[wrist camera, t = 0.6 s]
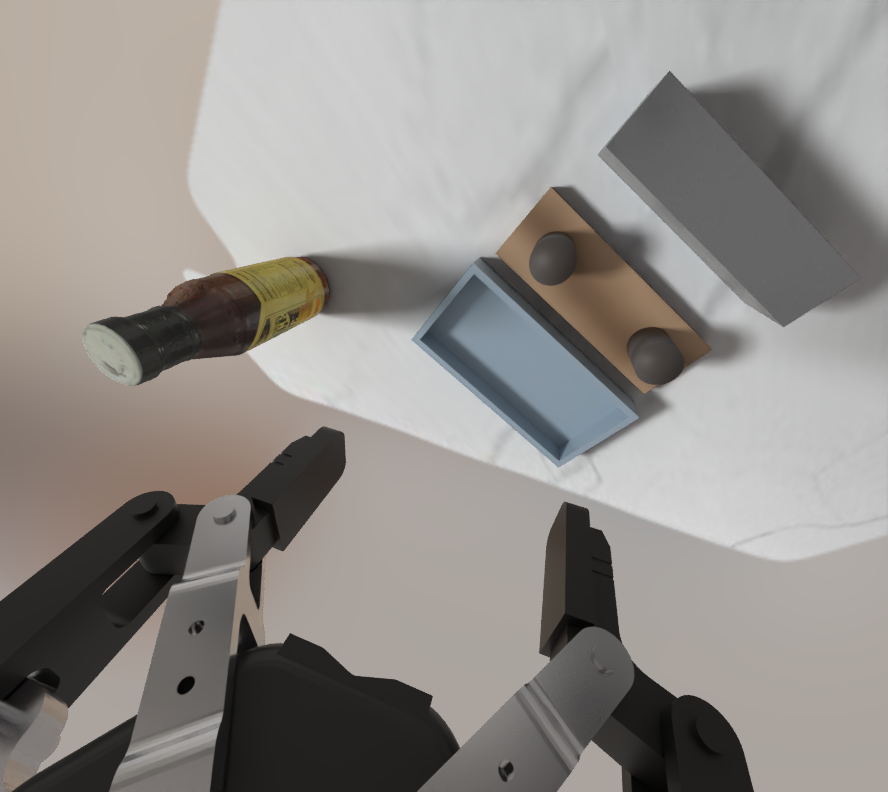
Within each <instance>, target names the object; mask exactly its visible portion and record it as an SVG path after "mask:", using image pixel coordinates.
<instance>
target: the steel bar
mask: <svg viewBox="0 0 888 792" xmlns="http://www.w3.org/2000/svg"><path fill="white" fill-rule="evenodd" d="M598 156H599V157H600V158H601V159H602V160H603V161H604V162H605V163H606V164H607V165H608V166H609V167H610V168H611V169H612V170H613V171H614V172H615V173H616V174H617V175H618V176H619V177H620V178H621V179H622V180H623V181H624V182H625V183H626V184H627V185H628V186H629V187H630V188H631V189H632V190H633V191H634V192H635V193H636V194H637V195H638V196H639V197H640V198H641V199H642V200H643V201H644V202H645V203H646V204H647V205H648V206H649V207H650V208H651V209H652V210H653V211H654V212H655V213H656V214H657V215H658V216H659V217H660V218H661V219H662V220H663V221H664V222H665V223H666V224H667V225H668V226H669V227H670V228H671V229H672V230H673V231H674V232H675V233H676V234H677V235H678V236H679V237H680V238H681V239H682V240H683V241H684V242H685V243H686V244H687V245H688V246H689V247H690V248H691V249H692V250H693V251H694V252H695V253H696V254H697V256H698V257H699V258H700V259H701V260H702V261H703V262H704V263H705V264H706V265H707V266H708V267H709V268H710V269H711V270H712V271H713V272H714V273H715V274H716V275H717V276H718V277H719V278H720V279H721V280H722V281H723V282H724V283H725V284H726V285H727V286H728V287H729V288H730V289H731V290H732V291H733V292H734V293H735V294H736V295H737V296H738V297H739V298H740V299H741V300H742V301H743V302H744V303H746V304H747V305H749V306H751V307H752V308H754V309H755V310H757V311H759V312H760V313H762V314H763V315H765V316H767V317H768V318H770V319H771V320H773V321H775V322H776V323H778V324H779V325H781V326H783V327H785V326H786V325H788V324H789V323H791V322H792V321H794V320H796V319H797V318H799V317H800V316H802V315H804V314H805V313H807V312H808V311H810V310H811V309H813V308H815V307H816V306H818V305H819V304H821V303H822V302H824V301H826V300H827V299H829V298H830V297H832V296H833V295H835V294H837V293H838V292H840V291H841V290H843V289H844V288H846V287H848V286H849V285H851V284H852V283H854V282H856V281H857V280H859V279H860V278H861V277H860V276H859V275H858V274H857V273H856V272H855V271H854V270H853V269H852V268H851V266H850V265H849V264H848V263H847V262H846V261H845V260H844V259H843V258H842V257H841V256H840V255H839V253H838V252H837V251H836V250H835V249H834V248H833V247H832V246H831V245H830V244H829V243H828V242H827V240H826V239H825V238H824V237H823V236H822V235H821V234H820V233H819V232H818V231H817V230H816V229H815V228H814V226H813V225H812V224H811V223H810V222H809V221H808V220H807V219H806V218H805V217H804V216H803V215H802V213H801V212H800V211H799V210H798V209H797V208H796V207H795V206H794V205H793V204H792V203H791V202H790V200H789V199H788V198H787V197H786V196H785V195H784V194H783V193H782V192H781V191H780V190H779V189H778V187H777V186H776V185H775V184H774V183H773V182H772V181H771V180H770V179H769V178H768V177H767V176H766V174H765V173H764V172H763V171H762V170H761V169H760V168H759V167H758V166H757V165H756V164H755V163H754V161H753V160H752V159H751V158H750V157H749V156H748V155H747V154H746V153H745V152H744V151H743V150H742V149H741V147H740V146H739V145H738V144H737V143H736V142H735V141H734V140H733V139H732V138H731V137H730V136H729V134H728V133H727V132H726V131H725V130H724V129H723V128H722V127H721V126H720V125H719V124H718V123H717V121H716V120H715V119H714V118H713V117H712V116H711V115H710V114H709V113H708V112H707V111H706V110H705V108H704V107H703V106H702V105H701V104H700V103H699V102H698V101H697V100H696V99H695V98H694V97H693V95H692V94H691V93H690V92H689V91H688V90H687V89H686V88H685V87H684V86H683V85H682V84H681V82H680V81H679V80H678V79H677V78H676V77H675V76H674V75H673V74H672V73H671V72H670V71H669V72H668V73H667V74H666V75H665V77H664V78H663V79H662V80H661V81H660V82H659V83H658V84H657V85H656V86H655V88H654V89H653V90H652V91H651V92H650V93H649V94H648V95H647V96H646V98H645V99H644V100H643V101H642V102H641V104H640V105H639V106H638V107H637V108H636V109H635V111H634V112H633V113H632V114H631V115H630V117H629V118H628V119H627V120H626V121H625V122H624V124H623V125H622V126H621V127H620V128H619V130H618V131H617V132H616V133H615V134H614V136H613V137H612V138H611V139H610V140H609V141H608V143H607V144H606V145H605V146H604V147H603V149H602V150H601V151H600V152H599V153H598Z"/></svg>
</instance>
